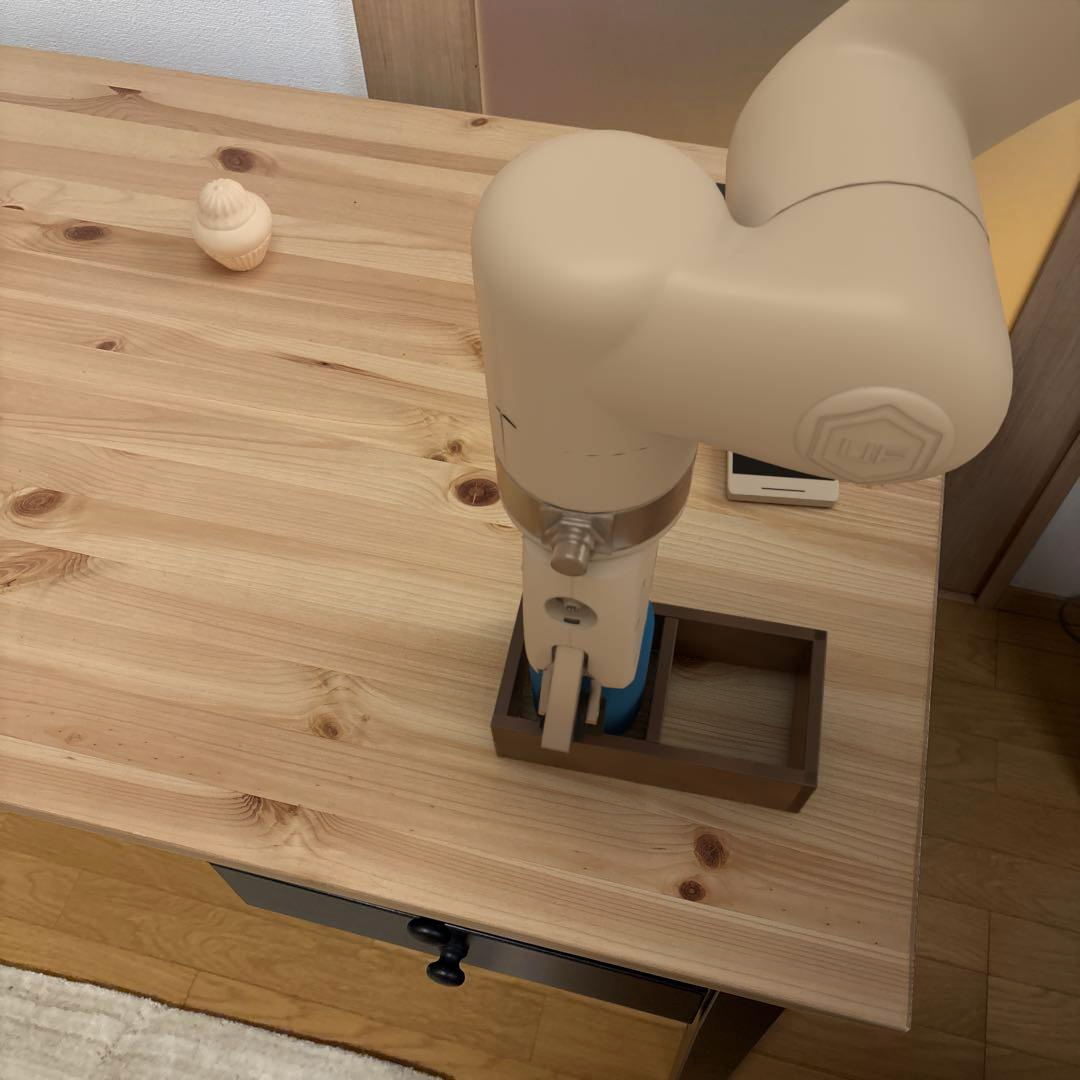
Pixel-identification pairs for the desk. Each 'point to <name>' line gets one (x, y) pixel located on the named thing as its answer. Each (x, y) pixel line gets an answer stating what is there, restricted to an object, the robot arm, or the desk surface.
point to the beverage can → (619, 701)
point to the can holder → (649, 758)
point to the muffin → (231, 224)
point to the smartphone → (777, 484)
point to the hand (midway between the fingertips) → (588, 644)
